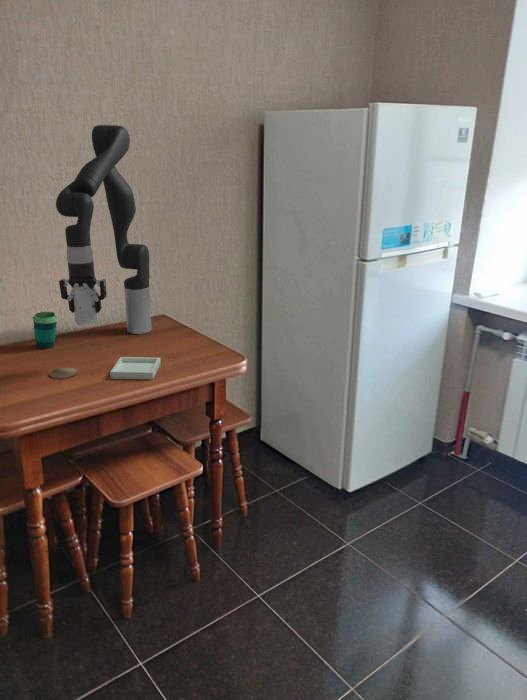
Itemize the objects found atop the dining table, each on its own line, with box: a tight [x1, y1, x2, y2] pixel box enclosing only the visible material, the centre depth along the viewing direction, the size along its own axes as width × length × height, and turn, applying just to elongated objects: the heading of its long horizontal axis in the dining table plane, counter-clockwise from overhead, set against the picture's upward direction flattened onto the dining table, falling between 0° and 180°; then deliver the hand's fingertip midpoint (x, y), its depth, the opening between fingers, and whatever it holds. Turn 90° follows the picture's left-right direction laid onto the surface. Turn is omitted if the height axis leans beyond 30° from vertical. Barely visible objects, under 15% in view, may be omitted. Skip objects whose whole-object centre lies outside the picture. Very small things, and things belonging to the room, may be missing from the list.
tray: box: [109, 356, 162, 380], centre depth 180 cm, size 13×13×2 cm
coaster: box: [49, 367, 78, 380], centre depth 177 cm, size 8×8×1 cm
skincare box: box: [71, 286, 98, 326], centre depth 178 cm, size 6×4×12 cm
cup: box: [32, 311, 58, 350], centre depth 199 cm, size 8×8×12 cm
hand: (85, 312), depth 179 cm, fingers closed on skincare box, 7 cm apart
